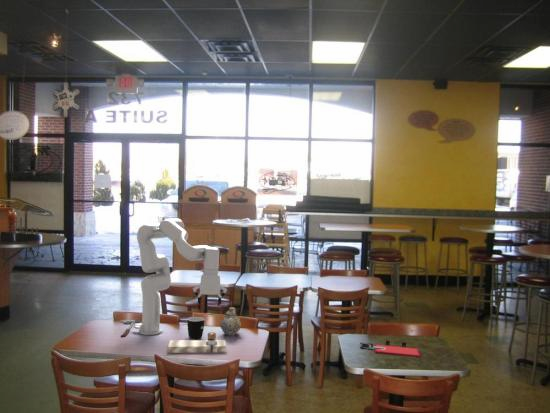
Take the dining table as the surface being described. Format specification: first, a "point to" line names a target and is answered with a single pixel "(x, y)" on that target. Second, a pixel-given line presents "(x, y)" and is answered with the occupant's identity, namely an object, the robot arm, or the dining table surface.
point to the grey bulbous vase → (230, 322)
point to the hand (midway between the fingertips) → (209, 304)
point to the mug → (195, 327)
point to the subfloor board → (195, 346)
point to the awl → (211, 338)
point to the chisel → (129, 326)
